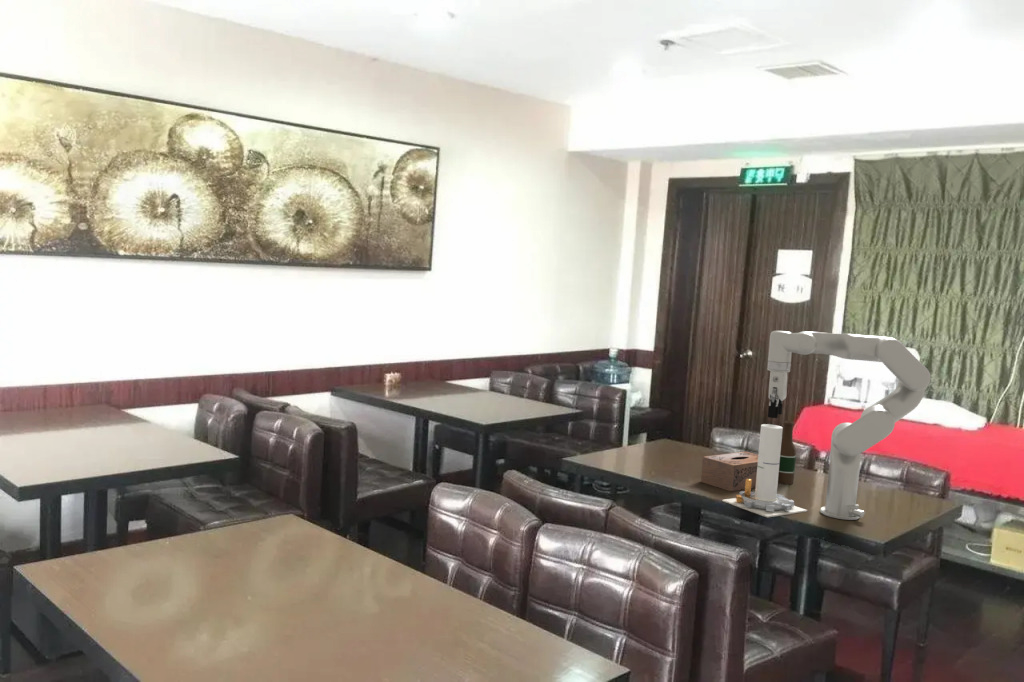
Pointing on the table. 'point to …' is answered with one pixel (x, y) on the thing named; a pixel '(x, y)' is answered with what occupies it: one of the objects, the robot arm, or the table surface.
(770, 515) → the sprocket base
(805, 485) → the table surface
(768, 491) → the cylindrical container
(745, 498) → the sprocket
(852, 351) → the robot arm
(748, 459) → the tissue box cover
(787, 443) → the beer bottle
